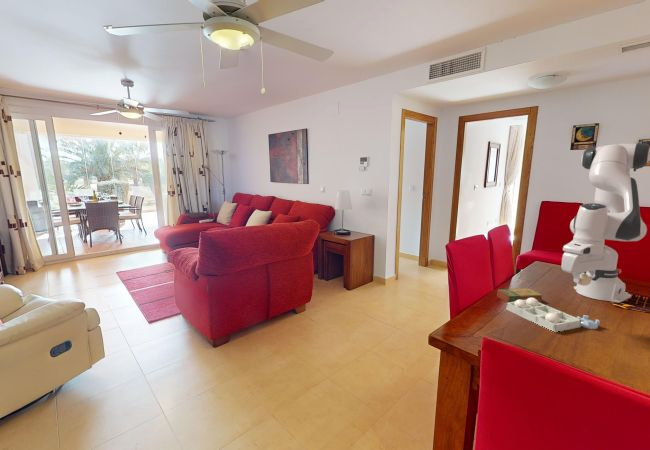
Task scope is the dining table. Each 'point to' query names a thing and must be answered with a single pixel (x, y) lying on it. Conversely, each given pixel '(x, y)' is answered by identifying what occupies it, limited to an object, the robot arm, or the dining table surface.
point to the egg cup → (588, 322)
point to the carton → (517, 294)
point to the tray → (539, 315)
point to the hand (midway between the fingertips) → (582, 281)
